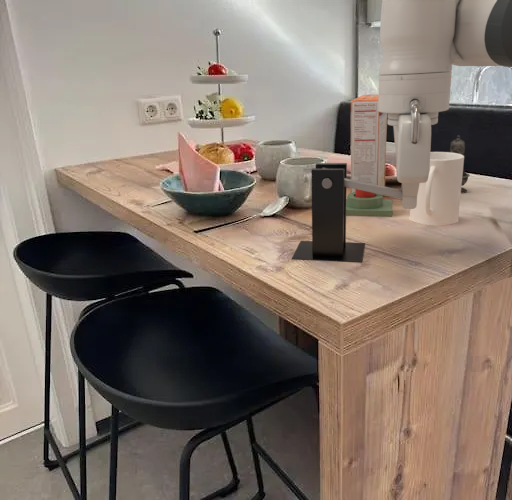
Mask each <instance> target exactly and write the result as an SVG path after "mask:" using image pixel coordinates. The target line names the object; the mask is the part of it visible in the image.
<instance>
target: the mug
mask: <svg viewBox="0 0 512 500" xmlns="http://www.w3.org/2000/svg"><path fill="white" fill-rule="evenodd" d="M464 156H465V155H464ZM464 156H463V155H461V154H457V153H450V151H430V170H429V177H428V181H427V182H425V183H419V189H418V194H417V206H416V208H414V209H409V215H408V219H409V221H412V222H413V223H415V224H416V223H417V224H419V225H420V224H421V225H425V226H449V225H452V224H456V223H458V222H459V221H460V206H461V196H462V195H461V194H462V193H461V187H462V186H461V185H462V175H463V167H464V166H463V164H464V165H465V159H464Z"/></svg>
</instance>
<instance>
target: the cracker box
mask: <svg viewBox="0 0 512 500" xmlns="http://www.w3.org/2000/svg"><path fill="white" fill-rule="evenodd" d="M378 98H379V93H377V94H362V95H360V96H357V97H356V98H354V99H353V100H350V179H352V180H357V181H361V182H366V183H371V184H375V185H380V186H385V187H386V170H387V166H386V164H387V129H388V124H387V122H388V113H381V112H379V111H378ZM352 192H355V189H353V188H350V193H352Z"/></svg>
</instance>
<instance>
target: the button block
mask: <svg viewBox="0 0 512 500" xmlns="http://www.w3.org/2000/svg"><path fill="white" fill-rule="evenodd" d="M346 217H378V218H379V217H381V218H392V217H393V199H384V195H381V194H376V193H375V197H372V198H359V197H355V192H352V193H351V192H349V193H347V194H346Z"/></svg>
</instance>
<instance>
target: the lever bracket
mask: <svg viewBox="0 0 512 500" xmlns="http://www.w3.org/2000/svg"><path fill="white" fill-rule="evenodd" d="M322 168H328V169H322ZM310 174H311V240H300V241H299V244H298V245H297V247H296V249H295V251H294V253H293V255H292V257H291V260H296V261H298V260H299V261H317V262H318V261H319V262H337V263H338V262H339V263H361V264H362V263H363V259H364V253H365V247H366V243H365V242H349V241H348V242H347V216H346V199H347V191H348V190H347V188H348V187H344V178H347V179H348V163H347V162H323V163H322V162H316V163H315V168H312V169H311V173H310Z"/></svg>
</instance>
